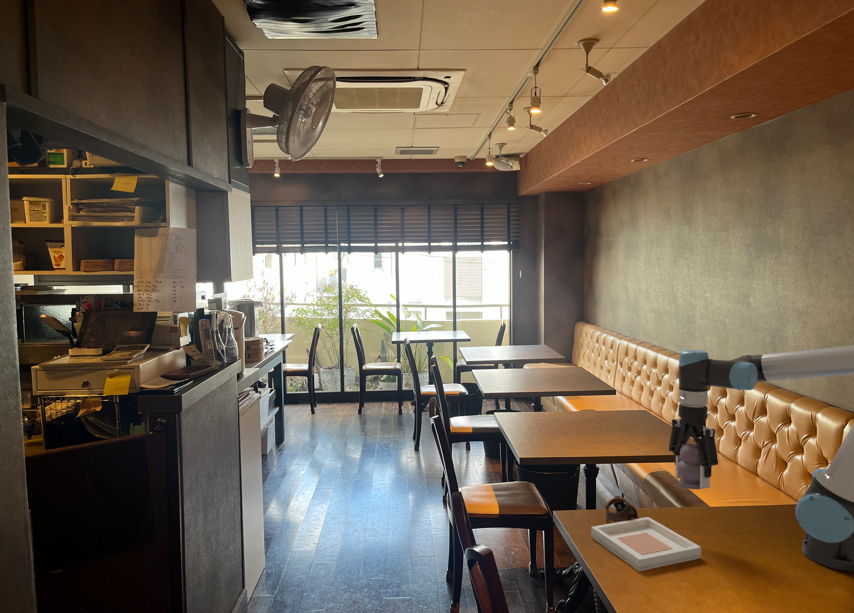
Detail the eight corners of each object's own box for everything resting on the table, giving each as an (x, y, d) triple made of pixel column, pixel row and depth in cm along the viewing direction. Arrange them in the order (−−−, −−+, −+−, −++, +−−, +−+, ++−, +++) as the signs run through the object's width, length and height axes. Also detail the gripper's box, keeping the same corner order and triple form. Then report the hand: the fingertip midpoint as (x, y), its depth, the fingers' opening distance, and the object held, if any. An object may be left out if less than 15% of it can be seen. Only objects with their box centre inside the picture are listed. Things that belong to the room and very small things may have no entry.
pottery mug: (646, 530, 168) (635, 509, 166) (616, 541, 170) (605, 520, 168) (633, 504, 180) (623, 484, 178) (605, 515, 181) (595, 495, 179)
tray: (700, 558, 150) (701, 547, 150) (639, 571, 144) (639, 559, 143) (647, 526, 169) (648, 517, 169) (591, 537, 162) (591, 526, 162)
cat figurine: (714, 489, 160) (715, 447, 159) (690, 492, 158) (690, 449, 158) (693, 479, 168) (694, 439, 168) (670, 481, 166) (670, 441, 166)
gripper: (655, 398, 171) (655, 472, 172) (712, 413, 151) (711, 497, 152) (675, 396, 173) (674, 469, 174) (734, 411, 153) (733, 493, 154)
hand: (692, 482), depth 163 cm, fingers closed on cat figurine, 8 cm apart
